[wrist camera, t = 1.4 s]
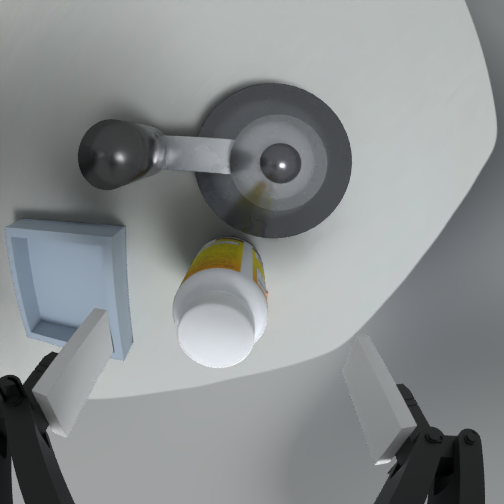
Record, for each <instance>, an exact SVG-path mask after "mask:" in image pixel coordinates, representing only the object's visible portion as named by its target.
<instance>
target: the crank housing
mask: <svg viewBox="0 0 504 504" xmlns="http://www.w3.org/2000/svg"><path fill="white" fill-rule="evenodd" d="M277 114H280V115H288V116H292V117H295V118H298V119H300V120H302V121H304V122H305V123H307V124H308V125H309V126H310V127H312V128H313V129H314V130H315V132H316V133H317V134H318V135H319V137H320V138H321V140H322V142H323V144H324V147H325V150H326V155H327V171H326V176H325V179H324V182H323V183H322V185H321V187H320V189H319V190H318V192H317V193H316V194H315V195H314V196H313V197H312V198H311V199H310V200H309V201H307V202H306V203H304V204H303V205H301V206H299V207H296V208H293V209H289V210H283V211H274V210H268V209H264V208H261V207H259V206H257V205H255V204H253V203H251V202H250V201H249V200H247V199H246V198H245V197H244V196H243V195H242V194H241V193H240V191H239V190H238V189H237V187H236V185H235V183H234V181H233V179H232V176H231V174H222V173H211V172H198V171H195V174H196V178H197V182H198V185H199V188H200V190H201V193H202V195H203V196H204V198H205V200H206V202H207V203H208V205H209V206H210V207H211V209H212V210H213V211H214V212H215V213H216V214H217V215H218V216H219V217H220V218H221V219H222V220H224V221H225V222H226V223H227V224H229V225H230V226H232V227H234V228H235V229H237V230H239V231H242V232H244V233H246V234H250V235H253V236H257V237H263V238H284V237H290V236H294V235H297V234H300V233H303V232H306V231H308V230H310V229H312V228H314V227H315V226H317V225H318V224H320V223H321V222H322V221H324V220H325V219H326V218H327V217H328V216H329V215H330V214H331V213H332V212H333V211H334V210H335V208H336V207H337V206H338V204H339V203H340V201H341V200H342V198H343V196H344V194H345V192H346V189H347V186H348V184H349V180H350V175H351V167H352V155H351V148H350V143H349V139H348V136H347V133H346V131H345V129H344V127H343V125H342V123H341V121H340V120H339V118H338V117H337V115H336V114H335V113H334V112H333V111H332V109H331V108H330V107H329V106H328V105H326V104H325V103H324V102H323V101H322V100H321V99H319V98H318V97H316V96H315V95H313V94H311V93H309V92H307V91H305V90H303V89H300V88H297V87H294V86H290V85H285V84H274V83H273V84H261V85H255V86H251V87H248V88H245V89H242V90H240V91H238V92H236V93H234V94H232V95H231V96H229V97H228V98H226V99H225V100H223V101H222V102H221V103H220V104H219V105H218V106H217V107H216V108H215V109H214V110H213V111H212V112H211V114H210V115H209V116H208V118H207V119H206V121H205V122H204V124H203V126H202V128H201V131H200V133H199V136H198V137H205V138H218V139H230V140H235V139H236V138H237V136H238V135H239V133H240V132H241V131H242V130H243V129H244V128H245V127H246V126H247V125H248V124H250V123H251V122H253V121H254V120H256V119H258V118H261V117H264V116H268V115H277Z"/></svg>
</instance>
